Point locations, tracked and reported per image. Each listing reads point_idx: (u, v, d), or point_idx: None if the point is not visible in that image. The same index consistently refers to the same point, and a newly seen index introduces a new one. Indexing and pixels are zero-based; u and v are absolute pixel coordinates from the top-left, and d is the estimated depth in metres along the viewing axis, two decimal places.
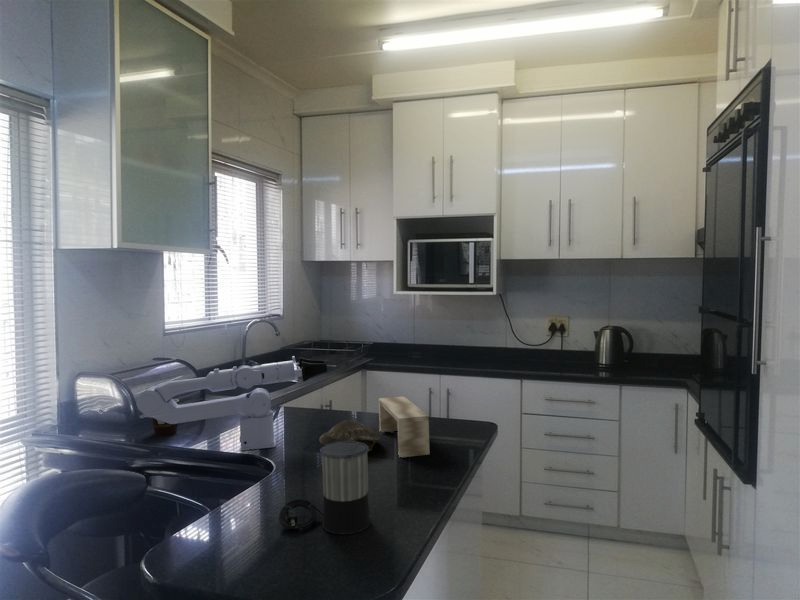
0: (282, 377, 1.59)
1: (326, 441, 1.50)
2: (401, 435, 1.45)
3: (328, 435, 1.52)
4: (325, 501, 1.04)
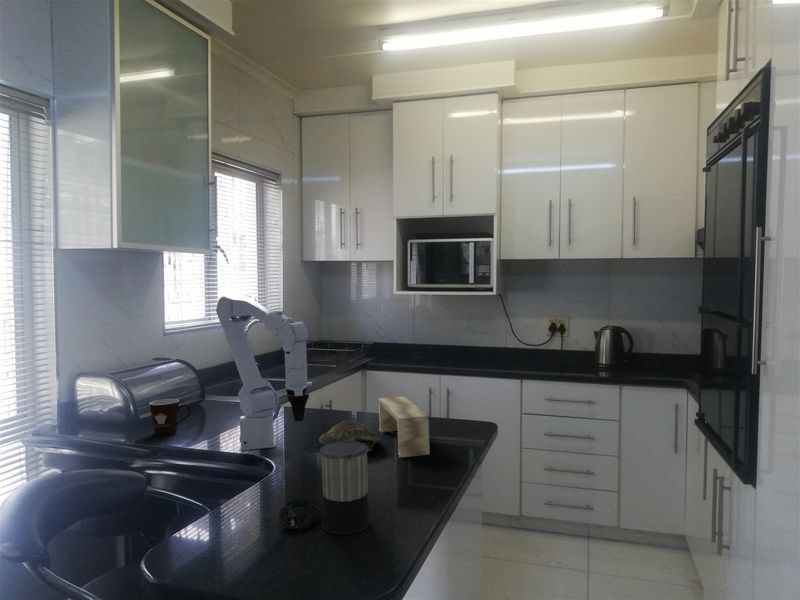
0: (292, 372, 1.47)
1: (326, 441, 1.50)
2: (401, 435, 1.45)
3: (328, 435, 1.52)
4: (325, 501, 1.04)
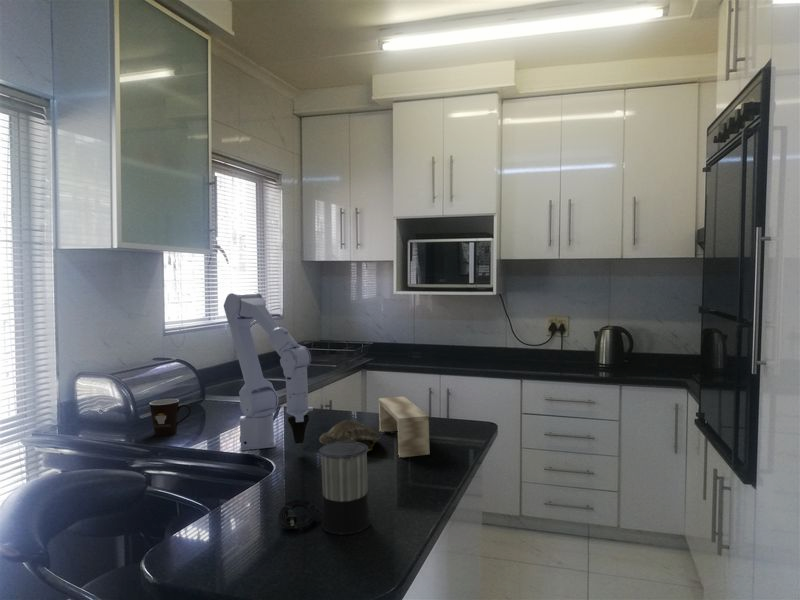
0: (293, 398, 1.48)
1: (326, 441, 1.50)
2: (401, 435, 1.45)
3: (328, 435, 1.52)
4: (324, 501, 1.04)
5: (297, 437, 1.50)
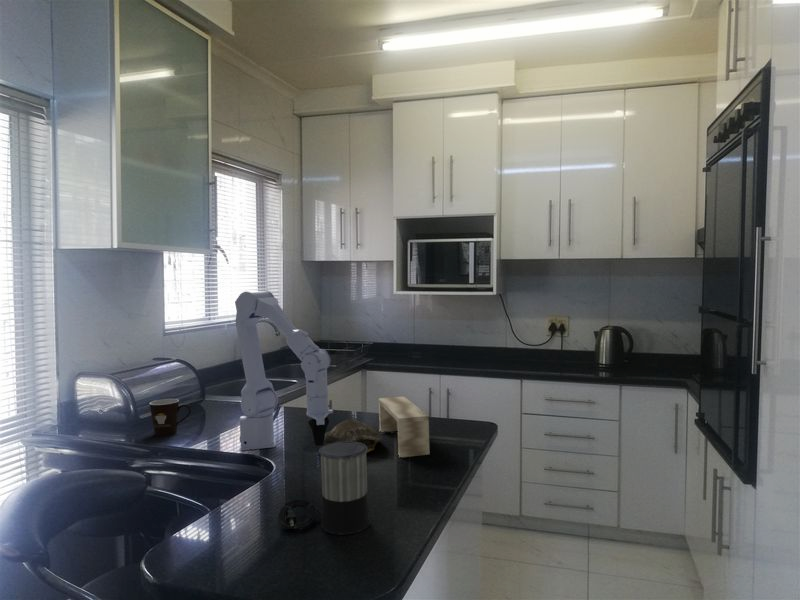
0: (313, 401, 1.49)
1: (328, 441, 1.50)
2: (401, 435, 1.45)
3: (330, 434, 1.52)
4: (324, 501, 1.04)
5: (317, 439, 1.51)
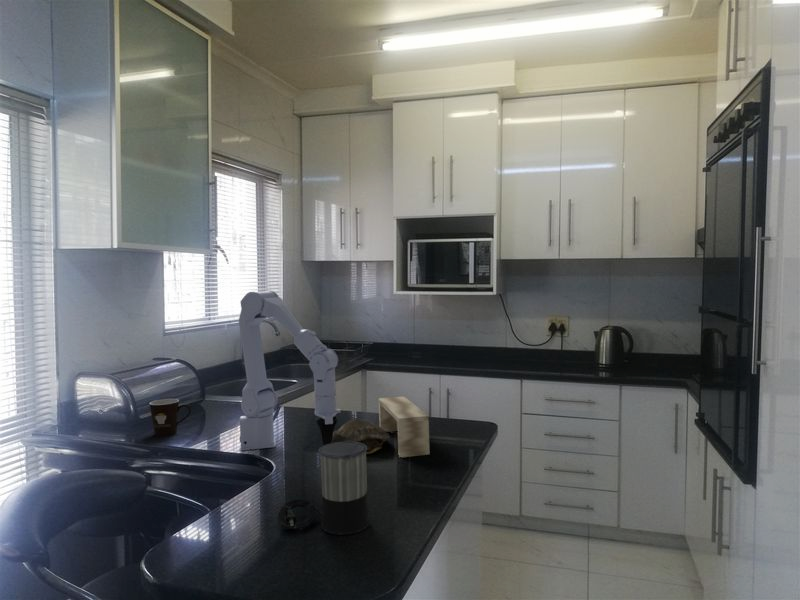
0: (321, 400, 1.49)
1: (336, 440, 1.51)
2: (401, 435, 1.45)
3: (338, 433, 1.53)
4: (324, 501, 1.04)
5: (325, 439, 1.52)
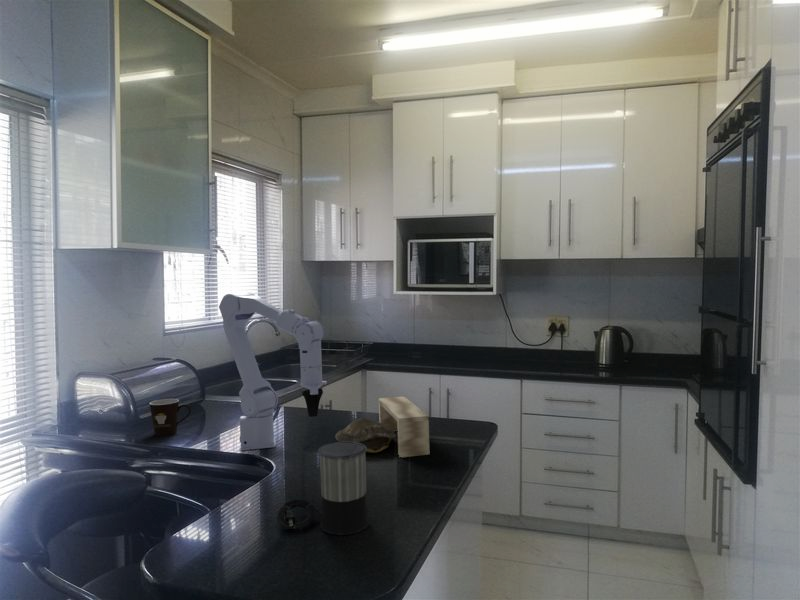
0: (307, 371, 1.49)
1: (343, 438, 1.52)
2: (401, 435, 1.45)
3: (345, 432, 1.54)
4: (323, 501, 1.04)
5: (311, 410, 1.51)
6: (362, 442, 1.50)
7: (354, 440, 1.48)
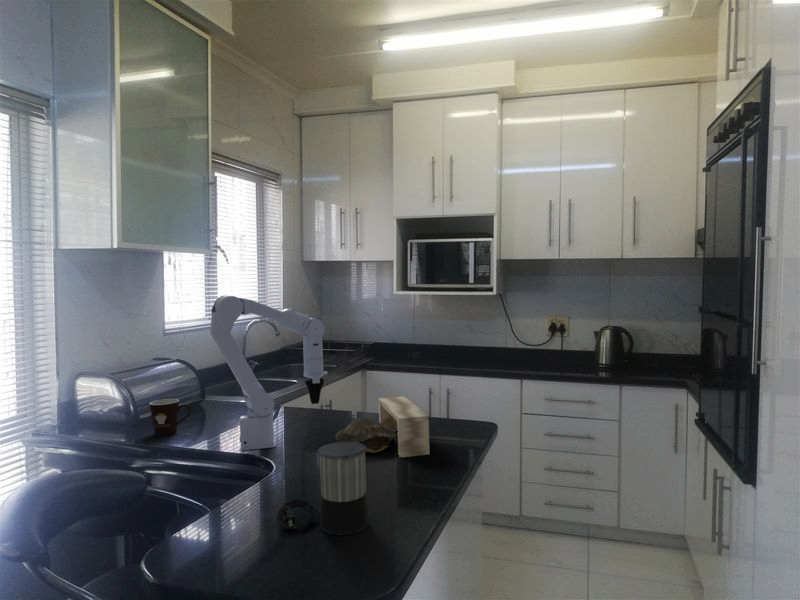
0: (309, 362, 1.64)
1: (343, 438, 1.52)
2: (401, 435, 1.45)
3: (345, 432, 1.54)
4: (323, 501, 1.04)
5: (313, 398, 1.67)
6: (362, 442, 1.50)
7: (354, 440, 1.48)
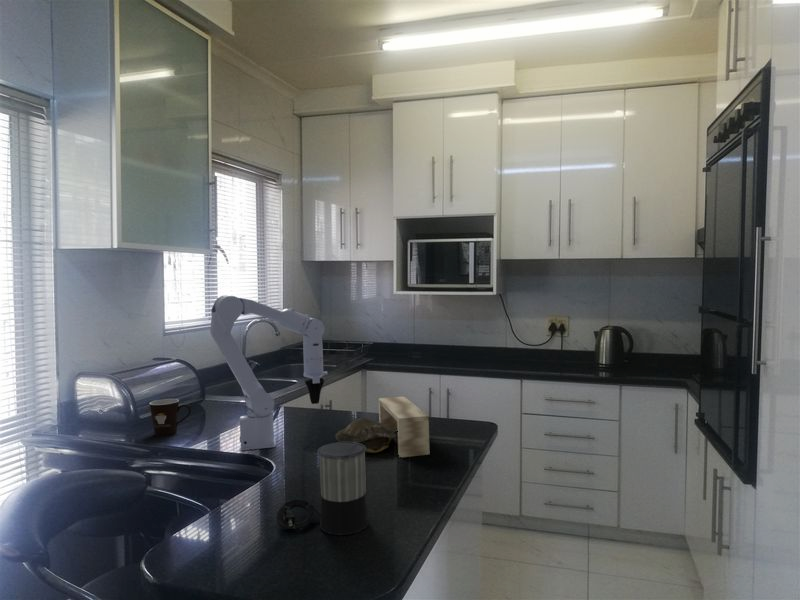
0: (309, 362, 1.64)
1: (343, 438, 1.52)
2: (401, 435, 1.45)
3: (345, 432, 1.54)
4: (322, 501, 1.04)
5: (313, 398, 1.67)
6: (362, 442, 1.50)
7: (354, 440, 1.48)
